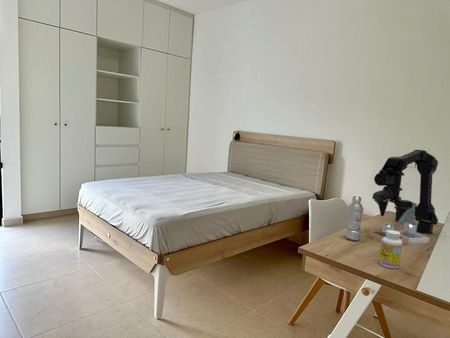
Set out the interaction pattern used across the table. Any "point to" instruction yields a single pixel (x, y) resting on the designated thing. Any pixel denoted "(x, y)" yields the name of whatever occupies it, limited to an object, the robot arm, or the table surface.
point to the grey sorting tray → (401, 237)
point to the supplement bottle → (391, 249)
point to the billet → (410, 230)
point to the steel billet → (387, 228)
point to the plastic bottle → (354, 219)
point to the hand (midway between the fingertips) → (389, 218)
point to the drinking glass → (408, 215)
